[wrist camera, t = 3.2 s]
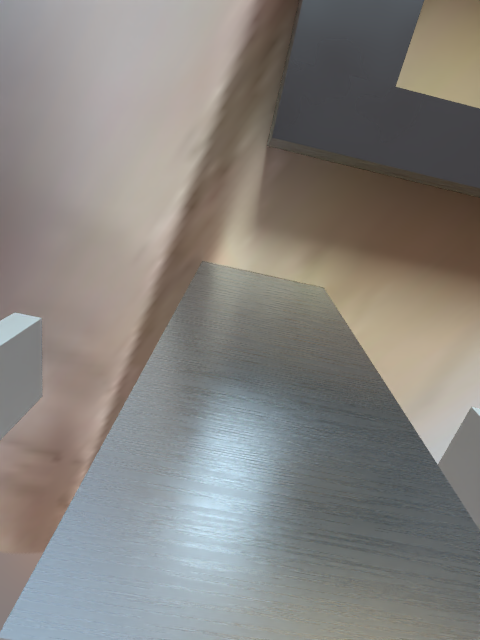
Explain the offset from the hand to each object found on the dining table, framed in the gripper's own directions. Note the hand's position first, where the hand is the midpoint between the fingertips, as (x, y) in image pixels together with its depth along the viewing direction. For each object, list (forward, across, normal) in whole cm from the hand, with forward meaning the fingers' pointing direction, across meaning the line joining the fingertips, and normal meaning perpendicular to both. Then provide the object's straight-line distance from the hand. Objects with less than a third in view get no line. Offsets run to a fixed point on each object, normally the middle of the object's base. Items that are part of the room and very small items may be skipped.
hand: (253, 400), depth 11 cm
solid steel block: (+5, 0, 0) cm, 5 cm away
